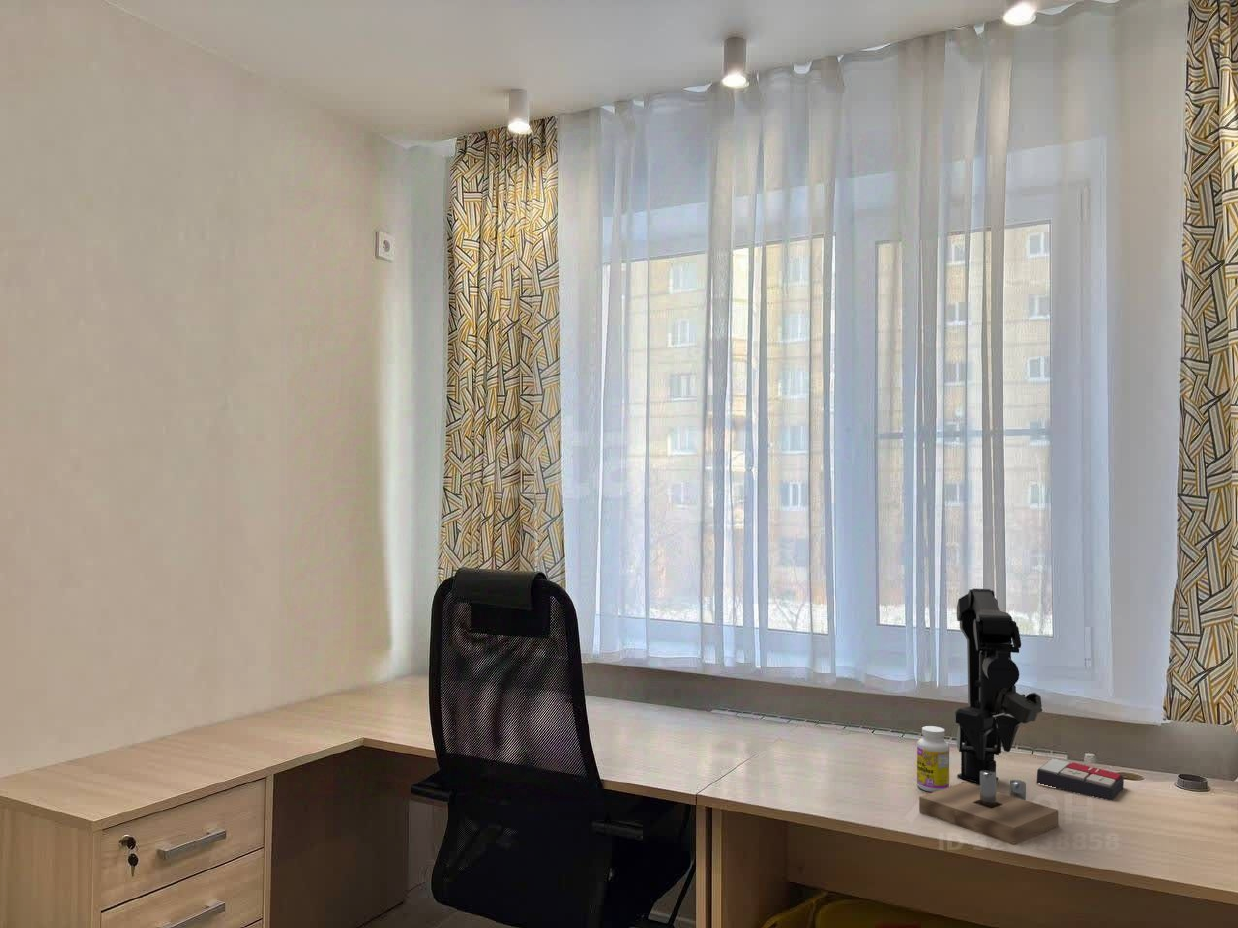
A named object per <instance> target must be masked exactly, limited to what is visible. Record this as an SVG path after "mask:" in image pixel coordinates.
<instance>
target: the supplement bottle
mask: <svg viewBox="0 0 1238 928" xmlns="http://www.w3.org/2000/svg"><path fill="white" fill-rule="evenodd" d="M921 734H922V738H920V739H918V740H917V743H916V785H917V787H918V788H919V789H920V790H923V791H926V792H929V793H932V792H936V791H939V790H942V789H945V788H948V787H950V745H949V743H948V741H946V740H945V739H944V737H945V736H946V733H945V728H943V727H940V726H933V725H925V726H923V727H921Z"/></svg>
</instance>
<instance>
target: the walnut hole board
mask: <svg viewBox="0 0 1238 928" xmlns="http://www.w3.org/2000/svg"><path fill="white" fill-rule="evenodd" d="M918 799H919V801H918V803H919V804H918V807H919V808H918V812H919V813H921V814H924V815H927V816H930V815H931V816H930V817H933V816H934V817H933V818H936V817H937V818H936V819H939V820H942V821H944V822H948V823H951V824H954V825H956V826H959V827H962V828H965V829H968V830H971V831H975V832H977V833H979V834H983V835H985V836H988V837H991V838H994V839H997V840H1001V841H1002V842H1007V843H1008V844H1012V845H1016V844H1019V843H1021V842H1023V841H1025V840H1029V839H1031V838H1032V837H1036V836H1037V835H1040V834H1043V833H1045V832H1047V831H1050V830H1051V829H1054V828H1056V827H1059V819H1060V818H1059V816H1060V815H1059V814H1060V813H1059V809H1056V808H1052V807H1049V806H1047V805H1046V806H1045V805H1042V804H1039V803H1036V802H1032V801H1029V800H1027V799H1026V800H1023V799H1020V798H1016V797H1013V796H1010V794H1006V793H1002V792H999V791H996V807H995V808H992V809H991V808H988V807H985V806H982V805H980V785H979V786H978V785H975V784H973V783H970V782H966V781H964V782H961V783H957V784H955V785H952V786H949V787H948V788H945V789H942V790H939V791H936V792H929V793H926V794H923V795H921V796H920V795H919V797H918Z"/></svg>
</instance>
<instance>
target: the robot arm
mask: <svg viewBox="0 0 1238 928" xmlns="http://www.w3.org/2000/svg"><path fill="white" fill-rule="evenodd" d="M956 621H957V622H959V628H960V631H961V633H962V634H963V635H964V637H965V639H966V643H967V652H966V653H967V655H966V656H967V692H968V693H967V704H968V705H967V706H965V707H961V708H958V709H957V710H956V711H955V712H954V723H955V724H958V727H957V732H956V748H957V751H958V752H959V753H960V755H961V756H960V757H961V758H960V760H961V761H960V762H961V763H960V765H961V767H960V771H961V772H960V773H957V775H956V776H957V778H959V779H963V780H966V781H969V782H973V783H976V784H979V785H980V771H982V770H987V771H993V772H995V773H996V774H997V761H996V759H995V755H996V756H1000V754H1002V749H1003V752H1006V753H1009V752H1010V753H1011V749H1012V746H1013V744H1014V740H1015V737H1016V735H1017V732H1018V730H1019V727H1020V725H1022V724H1029V722H1036V718H1037V716H1038V714H1039V713H1042V712H1043V708H1042V706H1043V705H1042V699H1041V696H1040V695H1039V694H1037V693H1036V692H1032V693H1029V694H1028V695H1026V694H1023V693H1022V694H1020V693H1018V692H1017V688H1016V687H1017V686H1016V684H1017V682H1018V681H1019V679H1020V670H1019V667H1018V666H1017V664H1016V663H1015V662H1014V660H1012V653H1016V654H1019V653H1020V649H1021V648H1022V641H1021V635H1020V629H1019V626H1018V625H1017V622H1016V621H1015V620H1014V619H1013V617H1012V616H1011V614H1010V613H1009V612H1006V611H1001V610H1000V608H999V601H998V599H997V598H996V597H995V590H992V589H990V588H975V587H974V588H971V589H968V593H967V594H965V595H964V596H961V597H960V598H958V602H957V605H956ZM998 780H999V776H996V781H998Z"/></svg>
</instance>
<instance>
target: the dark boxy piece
mask: <svg viewBox="0 0 1238 928" xmlns="http://www.w3.org/2000/svg"><path fill="white" fill-rule="evenodd" d="M1124 779H1125V777H1124V776H1123V775H1122V774H1121V773H1118V772H1114V771H1111V770H1110V771H1109V770H1106V769H1102V768H1097V767H1094V766H1089V765H1086V764H1081V763H1076V762H1069V761H1065V760H1061V759H1056V758H1052V759H1050V760H1048V761H1047V762H1046V763H1044V764H1043V765H1041V766H1040V767H1039V768H1038V769H1037V770H1036V784H1037V783H1040V784H1044V785H1048V786H1052V787H1056V788H1061V789H1060V790H1062V789H1063V791H1066V790H1068V791H1067V792H1070V791H1071V793H1074V792H1075V793H1074V794H1078V793H1080V794H1079V795H1083V796H1087V797H1092V796H1094V797H1093V798H1096V797H1098V798H1097V799H1101V798H1103V799H1102V800H1106V799H1107V801H1113V800H1114V799H1115V798H1116V797H1117V796H1118V795H1119V794H1120V793H1121V792H1122V791H1123V789H1124V781H1125V780H1124Z"/></svg>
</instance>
